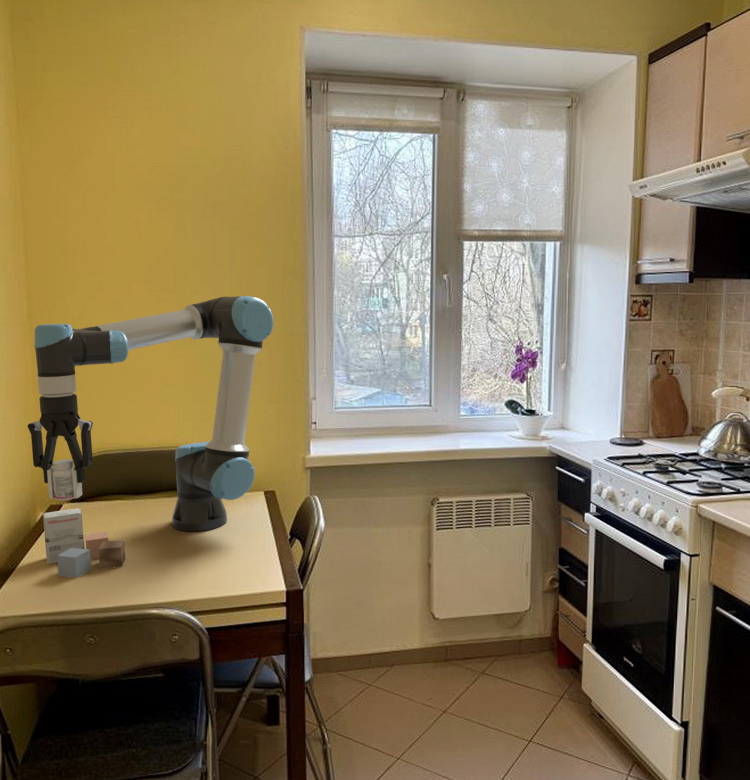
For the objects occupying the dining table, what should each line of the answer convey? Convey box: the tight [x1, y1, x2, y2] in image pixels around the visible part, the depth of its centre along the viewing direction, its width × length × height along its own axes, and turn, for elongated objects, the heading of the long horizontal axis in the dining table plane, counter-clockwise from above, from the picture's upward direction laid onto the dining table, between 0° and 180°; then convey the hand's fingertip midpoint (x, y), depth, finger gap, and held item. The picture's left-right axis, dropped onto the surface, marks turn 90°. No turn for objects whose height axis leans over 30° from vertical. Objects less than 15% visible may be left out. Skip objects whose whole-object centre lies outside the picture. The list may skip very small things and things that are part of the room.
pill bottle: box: [52, 458, 75, 501], centre depth 150 cm, size 5×5×8 cm
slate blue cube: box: [56, 548, 92, 579], centre depth 156 cm, size 5×5×5 cm
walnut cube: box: [98, 539, 126, 570], centre depth 162 cm, size 5×5×5 cm
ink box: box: [42, 507, 86, 565], centre depth 165 cm, size 9×5×12 cm, turn 118°
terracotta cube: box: [84, 530, 109, 560], centre depth 167 cm, size 5×5×5 cm
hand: (66, 496), depth 150 cm, fingers closed on pill bottle, 5 cm apart
